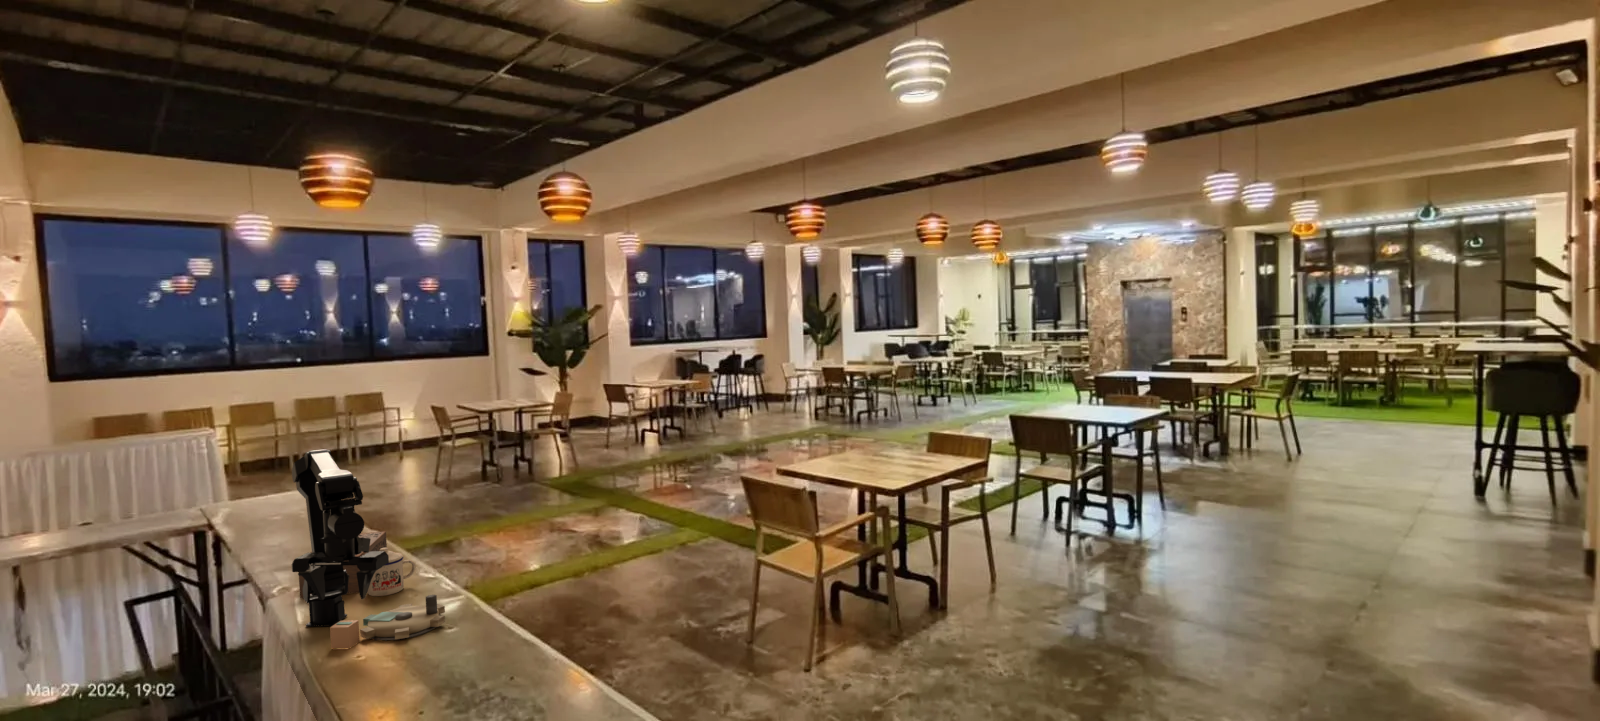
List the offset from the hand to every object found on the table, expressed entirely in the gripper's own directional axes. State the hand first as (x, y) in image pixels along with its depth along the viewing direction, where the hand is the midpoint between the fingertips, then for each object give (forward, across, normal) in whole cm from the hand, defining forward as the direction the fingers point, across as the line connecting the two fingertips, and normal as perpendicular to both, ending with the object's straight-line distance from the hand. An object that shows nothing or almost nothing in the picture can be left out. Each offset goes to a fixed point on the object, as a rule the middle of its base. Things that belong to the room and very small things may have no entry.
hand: (342, 599), depth 173 cm
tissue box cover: (+11, +27, -45) cm, 54 cm away
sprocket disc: (+10, -8, -10) cm, 17 cm away
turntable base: (+10, -8, -10) cm, 17 cm away
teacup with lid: (+11, +9, -36) cm, 39 cm away
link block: (+11, 0, 0) cm, 11 cm away
